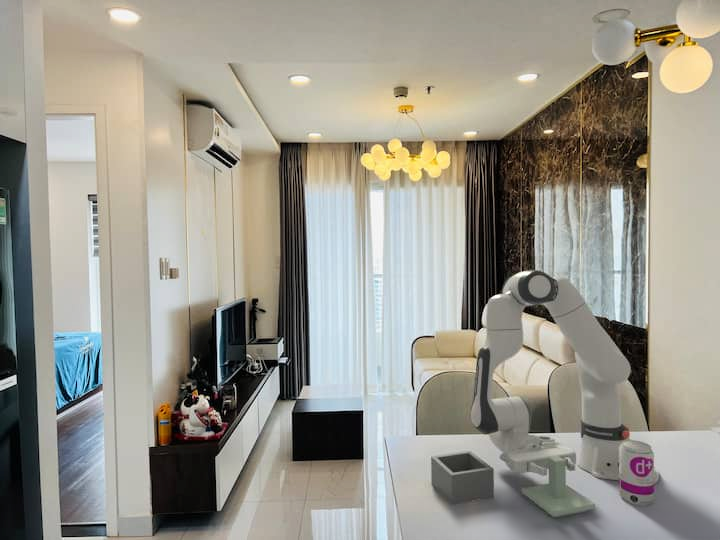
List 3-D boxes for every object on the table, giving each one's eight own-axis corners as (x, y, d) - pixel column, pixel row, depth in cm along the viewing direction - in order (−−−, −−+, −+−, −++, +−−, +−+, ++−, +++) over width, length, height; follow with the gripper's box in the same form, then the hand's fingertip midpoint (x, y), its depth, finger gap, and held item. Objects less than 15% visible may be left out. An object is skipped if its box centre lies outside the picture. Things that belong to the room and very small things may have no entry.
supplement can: (659, 508, 124) (659, 451, 124) (625, 505, 126) (624, 449, 125) (647, 493, 132) (646, 440, 132) (615, 490, 133) (614, 438, 133)
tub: (470, 477, 143) (470, 451, 143) (493, 497, 131) (493, 468, 131) (431, 483, 140) (431, 456, 140) (451, 504, 127) (451, 475, 127)
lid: (561, 490, 134) (560, 446, 134) (595, 513, 122) (595, 465, 122) (521, 497, 131) (521, 452, 131) (553, 522, 118) (552, 472, 118)
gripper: (496, 444, 136) (525, 463, 122) (555, 436, 141) (590, 453, 128) (496, 466, 136) (525, 487, 123) (556, 456, 141) (590, 476, 128)
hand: (559, 470), depth 125 cm, fingers open, 8 cm apart
